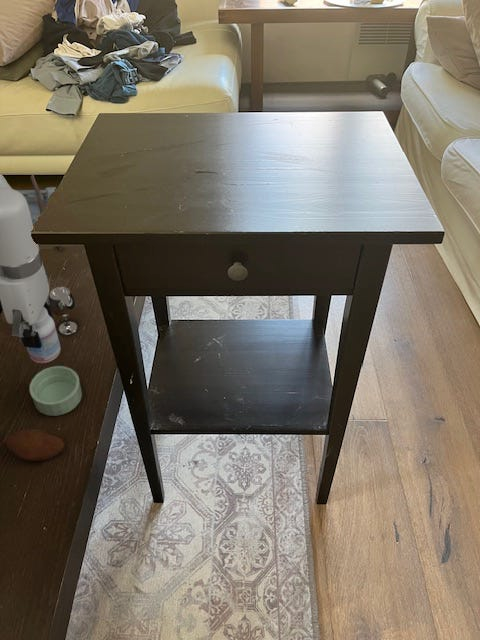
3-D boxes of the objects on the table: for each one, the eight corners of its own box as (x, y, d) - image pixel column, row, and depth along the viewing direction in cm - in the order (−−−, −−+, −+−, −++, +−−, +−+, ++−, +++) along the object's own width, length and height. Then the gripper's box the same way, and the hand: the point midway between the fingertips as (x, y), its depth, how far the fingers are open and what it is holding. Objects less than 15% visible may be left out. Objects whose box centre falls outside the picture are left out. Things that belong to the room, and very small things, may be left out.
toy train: (69, 190, 147) (72, 180, 160) (-32, 192, 141) (-20, 181, 154) (73, 226, 152) (76, 214, 165) (-24, 229, 146) (-13, 216, 159)
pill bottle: (22, 354, 99) (9, 315, 91) (47, 336, 103) (36, 297, 95) (43, 369, 97) (31, 330, 89) (67, 350, 101) (58, 311, 93)
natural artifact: (68, 246, 148) (59, 251, 150) (35, 174, 144) (27, 180, 146) (58, 249, 144) (50, 253, 146) (24, 175, 141) (16, 180, 143)
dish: (27, 415, 107) (22, 401, 103) (43, 377, 114) (38, 363, 111) (75, 419, 107) (71, 406, 104) (87, 381, 114) (84, 368, 111)
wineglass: (64, 340, 122) (56, 305, 114) (51, 327, 125) (41, 292, 116) (84, 328, 126) (77, 294, 117) (71, 316, 128) (63, 281, 119)
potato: (61, 467, 99) (55, 450, 95) (3, 464, 99) (-6, 447, 94) (69, 441, 104) (64, 423, 99) (14, 438, 103) (6, 420, 99)
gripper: (13, 228, 89) (34, 300, 102) (-27, 293, 77) (2, 366, 90) (56, 232, 89) (71, 304, 102) (21, 298, 77) (44, 370, 90)
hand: (39, 332), depth 96 cm, fingers closed on pill bottle, 6 cm apart
